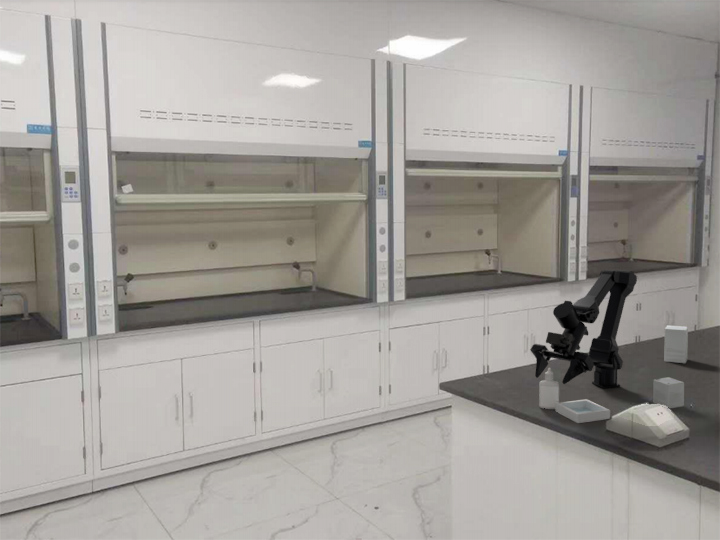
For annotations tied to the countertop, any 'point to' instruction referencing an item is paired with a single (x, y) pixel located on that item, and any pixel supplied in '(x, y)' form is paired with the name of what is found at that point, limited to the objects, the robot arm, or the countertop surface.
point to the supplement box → (676, 344)
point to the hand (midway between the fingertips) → (549, 380)
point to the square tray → (582, 411)
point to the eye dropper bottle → (548, 391)
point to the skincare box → (668, 392)
